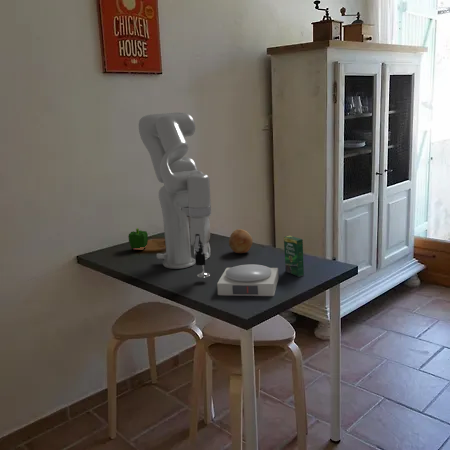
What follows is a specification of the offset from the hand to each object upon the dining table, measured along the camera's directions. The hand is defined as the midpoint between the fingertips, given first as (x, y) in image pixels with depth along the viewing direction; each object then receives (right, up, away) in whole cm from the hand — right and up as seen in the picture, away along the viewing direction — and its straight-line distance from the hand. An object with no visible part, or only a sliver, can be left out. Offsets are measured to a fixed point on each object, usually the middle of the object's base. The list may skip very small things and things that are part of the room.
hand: (202, 261), depth 177 cm
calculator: (-6, +6, +62) cm, 62 cm away
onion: (+14, +1, +33) cm, 36 cm away
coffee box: (+32, -5, +5) cm, 33 cm away
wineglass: (0, -5, +1) cm, 5 cm away
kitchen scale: (+16, -8, -6) cm, 19 cm away
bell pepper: (-30, +2, +47) cm, 56 cm away
